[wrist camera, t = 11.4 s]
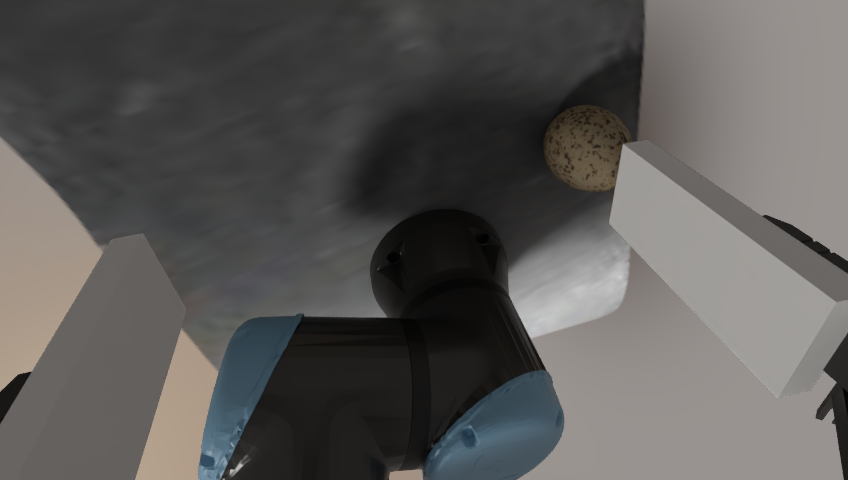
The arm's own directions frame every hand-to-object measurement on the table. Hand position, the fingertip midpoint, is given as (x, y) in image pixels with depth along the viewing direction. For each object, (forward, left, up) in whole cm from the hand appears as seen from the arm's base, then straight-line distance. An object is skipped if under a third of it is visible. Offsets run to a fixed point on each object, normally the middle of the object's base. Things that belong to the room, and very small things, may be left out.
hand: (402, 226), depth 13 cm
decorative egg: (-13, -19, -28) cm, 36 cm away
